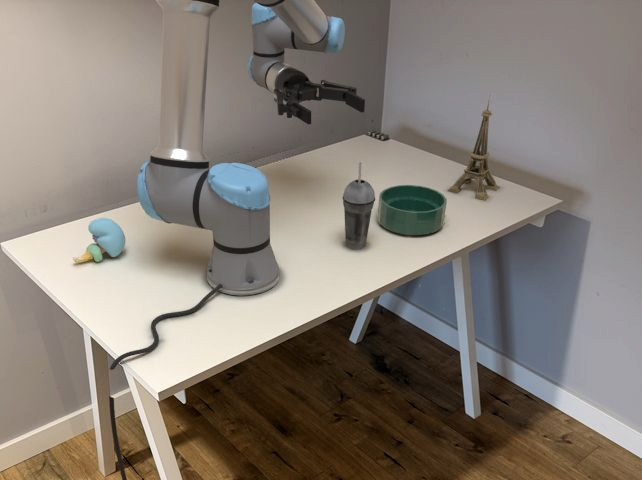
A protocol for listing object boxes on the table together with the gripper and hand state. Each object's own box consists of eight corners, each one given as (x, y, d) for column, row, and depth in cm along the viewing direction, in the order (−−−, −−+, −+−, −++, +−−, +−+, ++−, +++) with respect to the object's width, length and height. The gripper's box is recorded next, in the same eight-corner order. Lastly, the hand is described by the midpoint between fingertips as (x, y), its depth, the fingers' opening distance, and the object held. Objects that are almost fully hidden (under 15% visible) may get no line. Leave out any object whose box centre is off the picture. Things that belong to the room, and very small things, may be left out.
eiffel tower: (499, 187, 184) (517, 93, 169) (484, 200, 177) (502, 103, 162) (463, 178, 189) (478, 85, 174) (447, 191, 182) (461, 95, 167)
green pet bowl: (430, 243, 157) (433, 218, 153) (367, 228, 163) (368, 203, 159) (451, 217, 169) (455, 192, 165) (391, 204, 174) (393, 180, 170)
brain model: (58, 225, 143) (110, 207, 149) (69, 261, 149) (119, 243, 154) (71, 238, 139) (125, 219, 144) (82, 274, 144) (133, 255, 150)
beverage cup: (374, 240, 158) (381, 157, 146) (368, 254, 152) (374, 169, 141) (343, 235, 160) (348, 153, 148) (336, 249, 154) (340, 165, 142)
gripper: (333, 90, 167) (383, 118, 152) (242, 109, 157) (286, 140, 143) (333, 59, 162) (385, 84, 148) (240, 76, 152) (285, 104, 138)
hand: (337, 112), depth 145 cm, fingers open, 13 cm apart
